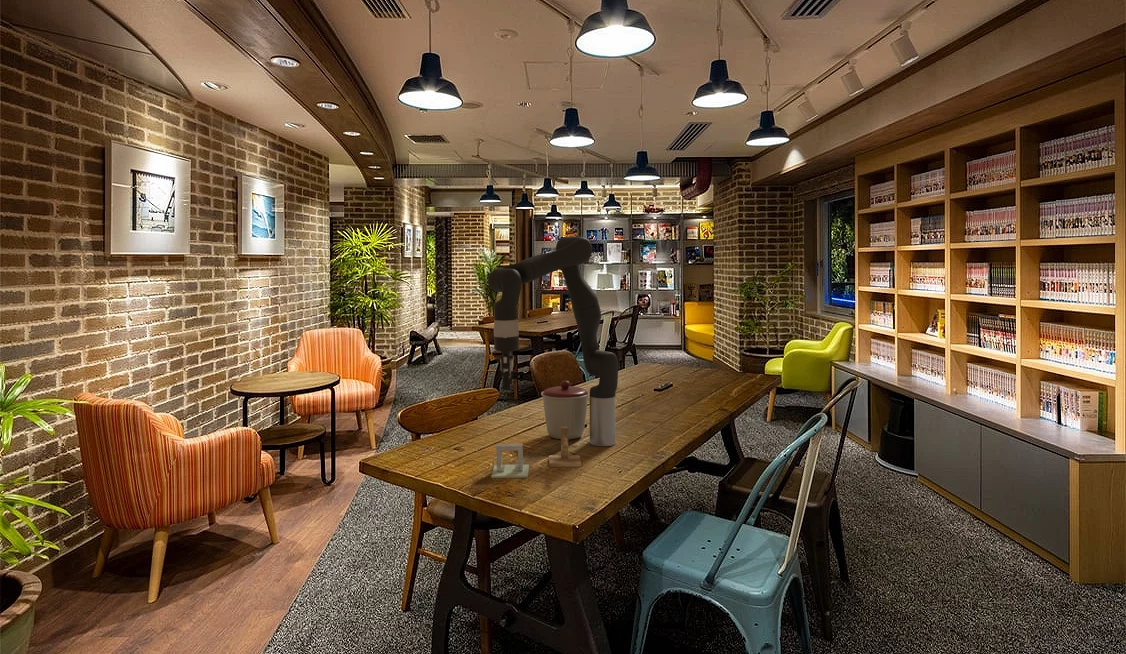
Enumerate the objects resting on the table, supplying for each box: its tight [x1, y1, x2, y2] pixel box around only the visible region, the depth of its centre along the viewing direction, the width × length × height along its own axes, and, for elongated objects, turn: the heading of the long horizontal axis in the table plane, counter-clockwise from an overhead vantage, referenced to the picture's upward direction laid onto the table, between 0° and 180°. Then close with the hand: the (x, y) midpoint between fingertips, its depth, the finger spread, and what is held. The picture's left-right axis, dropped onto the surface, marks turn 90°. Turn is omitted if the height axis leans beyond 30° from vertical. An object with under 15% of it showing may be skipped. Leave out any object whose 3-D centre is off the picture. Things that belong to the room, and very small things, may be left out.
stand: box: [548, 427, 582, 468], centre depth 202 cm, size 19×10×11 cm, turn 1°
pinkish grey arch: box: [495, 442, 524, 472], centre depth 197 cm, size 3×8×8 cm, turn 91°
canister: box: [540, 380, 590, 440], centre depth 237 cm, size 18×18×21 cm
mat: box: [490, 463, 530, 479], centre depth 198 cm, size 11×11×1 cm
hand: (507, 386), depth 196 cm, fingers open, 8 cm apart
